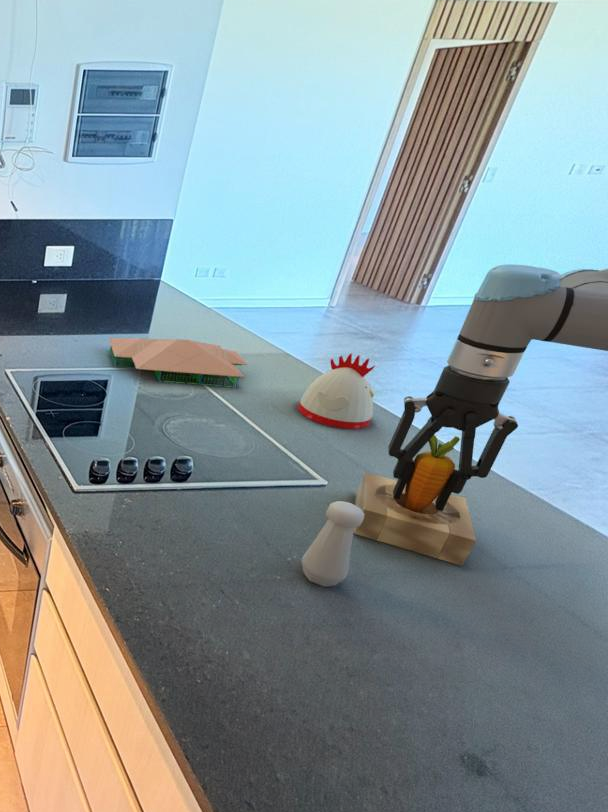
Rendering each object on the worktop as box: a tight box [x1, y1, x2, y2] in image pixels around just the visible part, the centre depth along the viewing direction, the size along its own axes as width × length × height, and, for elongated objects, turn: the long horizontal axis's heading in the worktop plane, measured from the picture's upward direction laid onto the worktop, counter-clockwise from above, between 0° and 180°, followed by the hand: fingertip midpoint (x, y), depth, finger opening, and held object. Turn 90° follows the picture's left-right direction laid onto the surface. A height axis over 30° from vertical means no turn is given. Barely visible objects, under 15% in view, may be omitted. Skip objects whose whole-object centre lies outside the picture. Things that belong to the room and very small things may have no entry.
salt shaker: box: [301, 500, 364, 588], centre depth 90 cm, size 6×6×13 cm
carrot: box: [405, 434, 461, 513], centre depth 100 cm, size 5×5×15 cm
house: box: [108, 337, 248, 388], centre depth 167 cm, size 23×33×8 cm
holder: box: [353, 472, 477, 567], centre depth 103 cm, size 14×14×5 cm
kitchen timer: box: [297, 352, 376, 430], centre depth 139 cm, size 14×14×15 cm
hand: (417, 500), depth 102 cm, fingers closed on carrot, 5 cm apart
